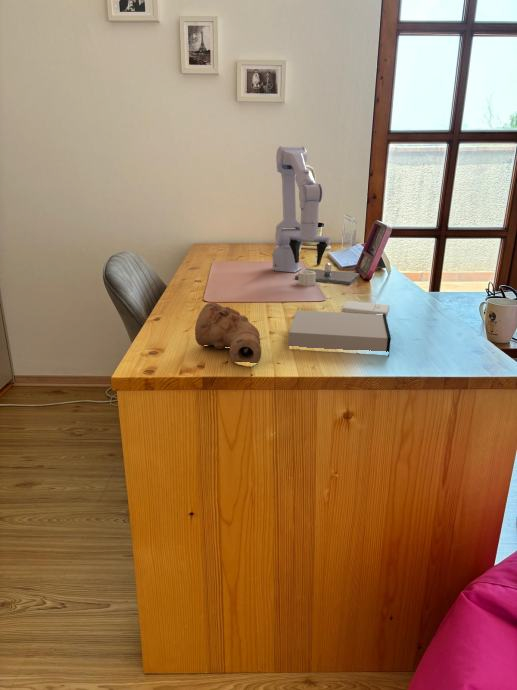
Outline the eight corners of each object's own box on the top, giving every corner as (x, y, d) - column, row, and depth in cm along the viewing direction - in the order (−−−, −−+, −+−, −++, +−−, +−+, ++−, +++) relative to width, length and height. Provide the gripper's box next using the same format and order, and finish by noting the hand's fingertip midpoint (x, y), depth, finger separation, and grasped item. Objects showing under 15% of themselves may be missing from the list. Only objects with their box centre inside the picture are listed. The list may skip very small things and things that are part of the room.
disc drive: (389, 358, 112) (391, 337, 111) (288, 351, 116) (289, 331, 114) (384, 332, 129) (385, 313, 127) (295, 327, 132) (296, 309, 130)
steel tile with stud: (295, 279, 180) (295, 264, 178) (307, 271, 192) (307, 257, 191) (350, 284, 173) (351, 269, 171) (359, 276, 185) (360, 261, 183)
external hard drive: (346, 305, 152) (389, 309, 148) (342, 313, 144) (386, 317, 141) (347, 300, 151) (389, 304, 147) (342, 307, 144) (387, 311, 140)
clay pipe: (252, 352, 124) (193, 334, 122) (266, 313, 120) (205, 293, 119) (251, 383, 106) (182, 363, 104) (268, 337, 103) (197, 315, 101)
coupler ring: (296, 284, 172) (296, 273, 171) (301, 281, 177) (302, 269, 176) (312, 286, 170) (312, 274, 169) (317, 282, 175) (317, 271, 174)
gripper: (284, 222, 166) (283, 263, 170) (327, 225, 160) (325, 267, 165) (291, 220, 172) (290, 260, 177) (333, 222, 166) (330, 263, 171)
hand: (307, 263), depth 171 cm, fingers open, 7 cm apart
